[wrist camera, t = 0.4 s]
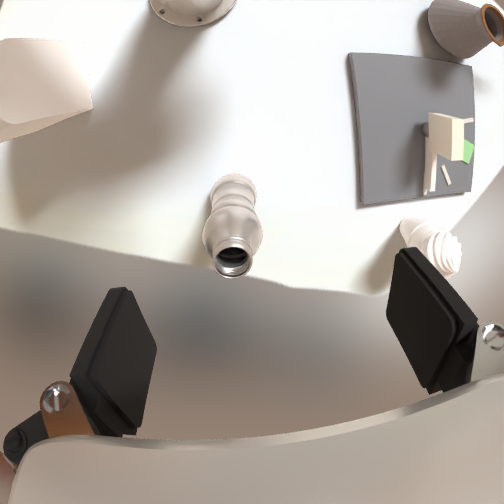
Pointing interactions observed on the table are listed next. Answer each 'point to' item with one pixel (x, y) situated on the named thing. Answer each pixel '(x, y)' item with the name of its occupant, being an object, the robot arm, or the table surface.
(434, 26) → the coffee pot
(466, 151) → the plate
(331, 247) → the table surface
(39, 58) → the milk
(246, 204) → the plastic bottle
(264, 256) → the table surface
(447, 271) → the soft serve ice cream cone
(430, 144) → the peg head
